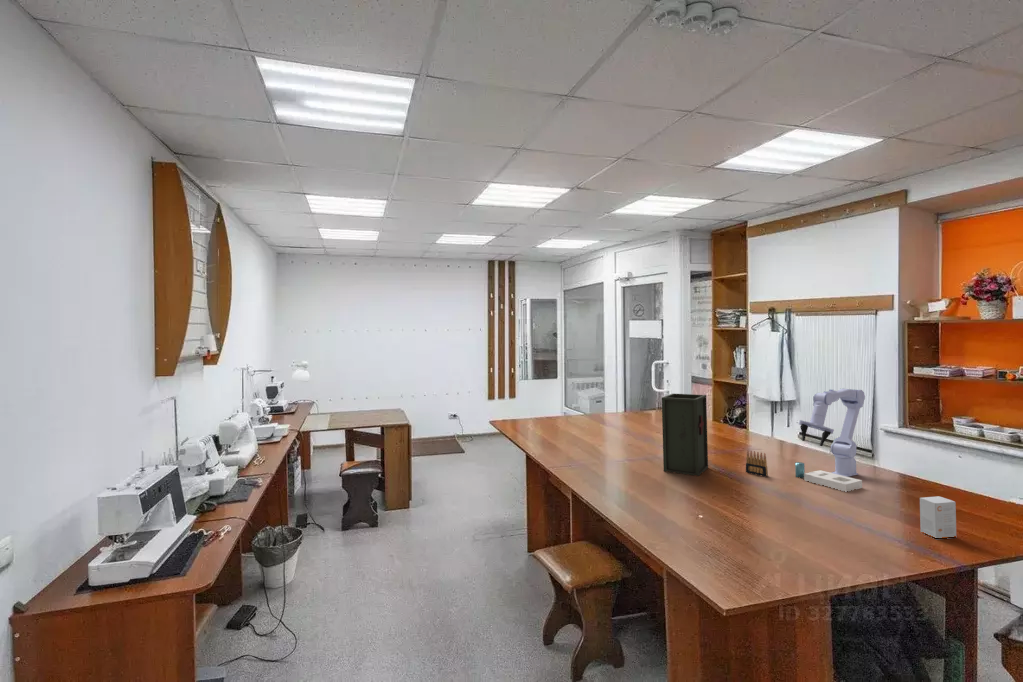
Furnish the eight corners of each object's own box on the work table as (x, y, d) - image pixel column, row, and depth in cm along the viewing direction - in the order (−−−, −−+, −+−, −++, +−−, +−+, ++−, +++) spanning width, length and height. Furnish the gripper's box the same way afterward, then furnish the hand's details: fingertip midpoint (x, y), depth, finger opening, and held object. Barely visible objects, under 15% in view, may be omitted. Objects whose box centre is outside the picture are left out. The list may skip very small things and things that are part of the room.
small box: (939, 531, 182) (939, 495, 182) (957, 538, 176) (956, 501, 176) (919, 532, 181) (919, 497, 181) (936, 539, 175) (935, 503, 175)
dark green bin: (674, 463, 284) (672, 393, 283) (708, 467, 273) (706, 395, 272) (663, 471, 269) (661, 397, 268) (698, 476, 258) (696, 399, 257)
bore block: (820, 477, 250) (819, 470, 250) (862, 487, 231) (861, 480, 231) (804, 480, 245) (804, 473, 245) (845, 492, 227) (845, 484, 226)
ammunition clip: (767, 476, 254) (767, 452, 254) (766, 476, 253) (765, 453, 253) (747, 471, 263) (746, 449, 262) (745, 472, 262) (745, 449, 261)
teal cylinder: (799, 475, 254) (798, 461, 253) (806, 477, 250) (806, 463, 250) (793, 476, 252) (793, 462, 252) (801, 478, 248) (800, 464, 248)
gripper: (804, 410, 242) (797, 437, 239) (837, 419, 236) (831, 447, 234) (800, 412, 248) (794, 438, 246) (833, 422, 243) (827, 448, 240)
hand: (812, 443), depth 240 cm, fingers open, 7 cm apart
